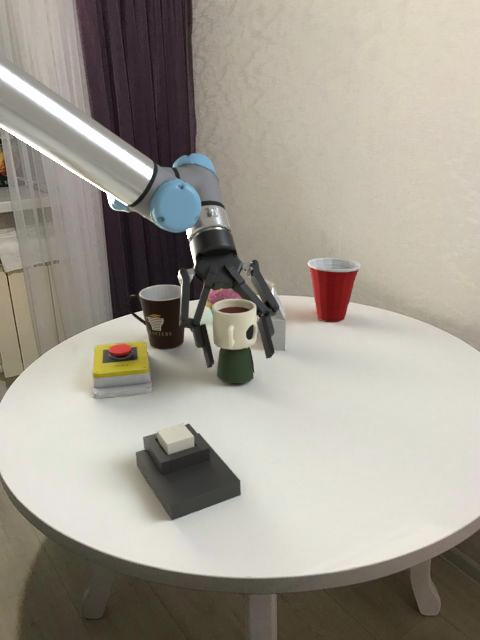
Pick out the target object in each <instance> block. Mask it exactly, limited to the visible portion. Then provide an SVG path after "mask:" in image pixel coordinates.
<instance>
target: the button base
mask: <svg viewBox="0 0 480 640" xmlns="http://www.w3.org/2000/svg"><path fill="white" fill-rule="evenodd" d="M184 425H185V426H186V427H187V429H188V430H189V431H190V432H191V433H192V435H193V436H194V447H191V448H188V449H185V450H182V451H179V452H176V453H172V454H169V455H167V453H166V452H165V451H164V449H163V448H162V447H161V445H160V444H159V443H158V438H157V432H155V433H152V434H148V435H145V436H142V440H143V449H141V450H139V451H137V452H136V451H135V459H136V466H137V468H138V470H139V471H140V473H141V475H142V476H143V478H144V479H145V481H146V482H147V484H148V486H149V487H150V488H151V490H152V492H153V493H154V495H155V496H156V498H157V500H158V501H159V503H160V504H161V506H162V507H163V509H164V511H165V512H166V514H167V515H168V517H169V518H170V520H171V521H175V520H177V519H181V518H183V517H185V516H188V515H191V514H193V513H196V512H199V511H202V510H204V509H207V508H210V507H212V506H215V505H218V504H221V503H224V502H226V501H229V500H231V499H234V498H237V497H239V496H241V495H242V494H241V493H242V492H241V479H240V478H239V477H238V476H237V474H236V473H234V472H233V470H232V469H231V468H230V467H229V466H228V465H227V463H226V462H225V461H224V460H223V459H222V458H221V456H219V454H218V453H217V452H216V451H215V449H214V448H213V447H212V446H211V445H210V444H209V442H207V440H206V439H205V438H204V436H202V434H201V433H199V432H197V431H196V429H195V428H194V427H193V426H192V424H190V423H184Z"/></svg>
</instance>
